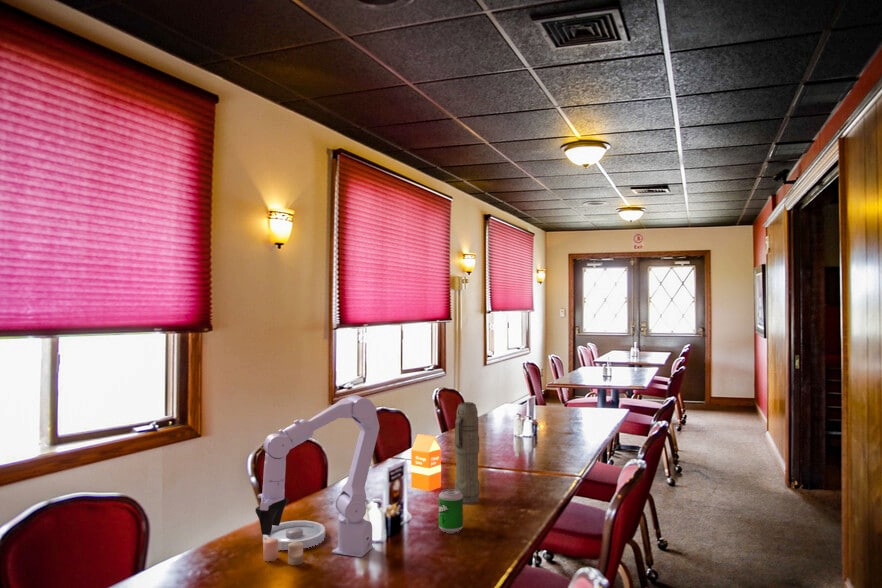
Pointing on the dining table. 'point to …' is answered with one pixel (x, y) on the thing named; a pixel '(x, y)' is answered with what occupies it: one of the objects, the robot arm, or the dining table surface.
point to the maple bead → (295, 553)
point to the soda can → (450, 510)
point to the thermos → (467, 452)
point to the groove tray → (297, 533)
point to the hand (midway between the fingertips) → (270, 529)
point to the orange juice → (426, 463)
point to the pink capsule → (270, 549)
